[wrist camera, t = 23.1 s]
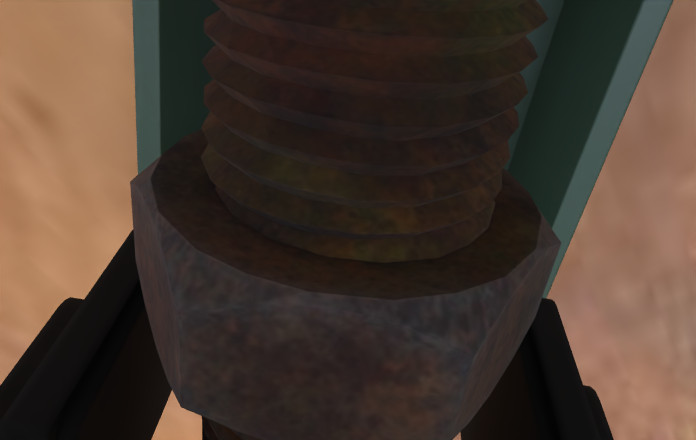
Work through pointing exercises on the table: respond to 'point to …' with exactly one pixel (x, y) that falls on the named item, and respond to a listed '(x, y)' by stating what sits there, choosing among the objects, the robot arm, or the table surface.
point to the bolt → (346, 220)
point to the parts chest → (533, 110)
